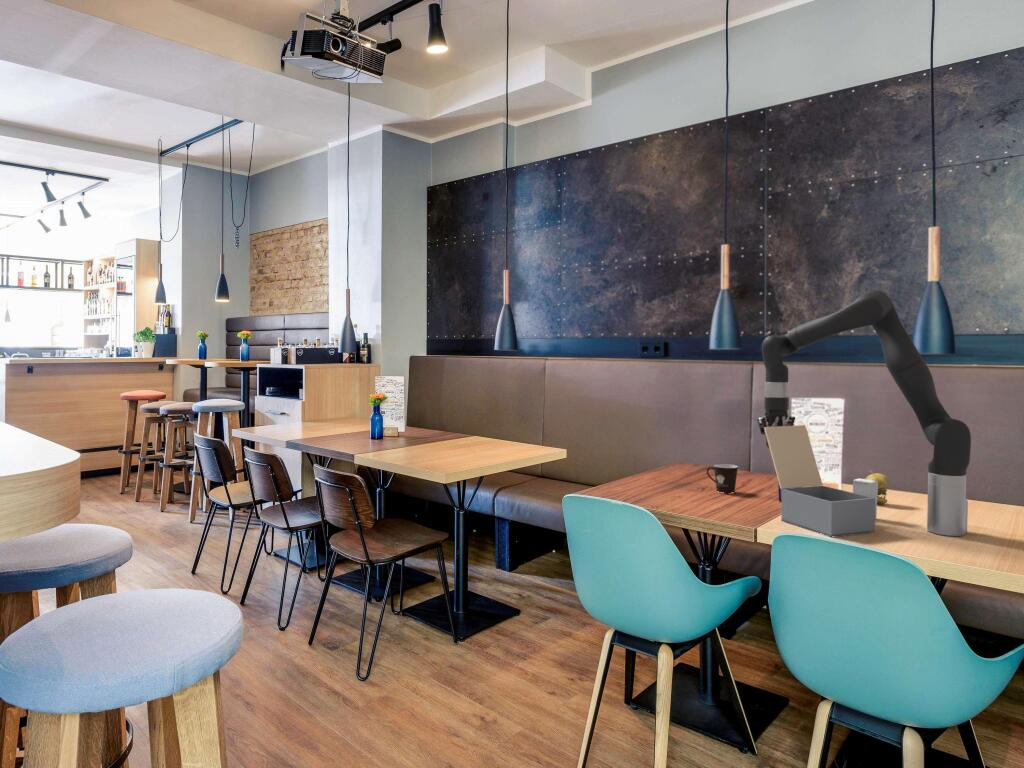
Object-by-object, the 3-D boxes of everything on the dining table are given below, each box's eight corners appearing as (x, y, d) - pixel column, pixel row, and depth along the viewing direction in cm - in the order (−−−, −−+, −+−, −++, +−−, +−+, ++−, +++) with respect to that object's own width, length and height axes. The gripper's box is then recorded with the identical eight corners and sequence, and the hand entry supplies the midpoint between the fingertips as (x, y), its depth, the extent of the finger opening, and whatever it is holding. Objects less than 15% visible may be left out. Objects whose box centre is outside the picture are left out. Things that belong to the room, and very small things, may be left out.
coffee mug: (742, 493, 246) (742, 467, 246) (722, 495, 244) (722, 468, 243) (724, 488, 257) (724, 462, 257) (704, 489, 255) (705, 463, 255)
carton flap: (822, 484, 210) (808, 489, 216) (805, 425, 217) (792, 430, 222) (781, 488, 205) (768, 492, 211) (765, 427, 212) (752, 432, 217)
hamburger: (893, 505, 226) (894, 470, 225) (878, 507, 223) (878, 472, 222) (873, 501, 233) (874, 467, 232) (858, 502, 230) (859, 468, 230)
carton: (822, 516, 210) (822, 485, 210) (874, 532, 191) (875, 498, 191) (781, 520, 205) (781, 489, 205) (831, 537, 186) (831, 502, 186)
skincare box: (851, 517, 209) (851, 479, 209) (857, 515, 212) (858, 477, 212) (871, 521, 204) (871, 482, 204) (877, 519, 207) (878, 480, 207)
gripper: (785, 394, 224) (785, 445, 224) (751, 395, 219) (750, 447, 220) (802, 396, 217) (801, 448, 217) (766, 396, 212) (766, 449, 213)
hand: (775, 447), depth 218 cm, fingers closed on carton flap, 4 cm apart
